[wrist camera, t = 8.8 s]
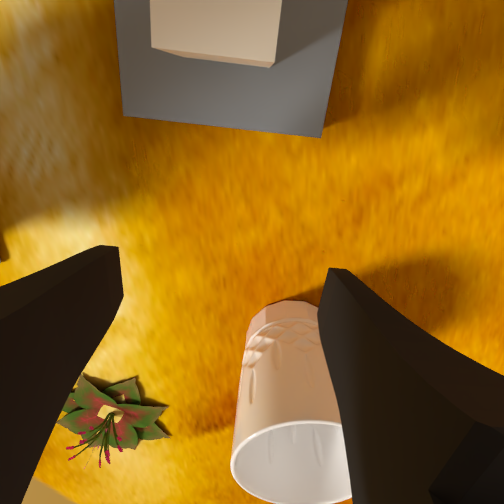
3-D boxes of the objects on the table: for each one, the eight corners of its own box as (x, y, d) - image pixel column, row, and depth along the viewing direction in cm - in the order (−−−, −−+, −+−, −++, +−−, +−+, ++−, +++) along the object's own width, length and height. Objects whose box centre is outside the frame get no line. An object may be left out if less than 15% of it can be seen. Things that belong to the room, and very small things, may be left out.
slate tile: (136, 112, 18) (123, 115, 16) (119, -155, 13) (98, -192, 11) (314, 132, 18) (320, 138, 16) (362, -121, 13) (378, -151, 12)
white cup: (289, 273, 23) (309, 397, 14) (361, 330, 25) (417, 467, 16) (219, 335, 25) (199, 471, 17) (290, 381, 28) (305, 521, 19)
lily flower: (191, 438, 33) (182, 488, 29) (85, 451, 34) (62, 501, 30) (147, 356, 27) (128, 404, 23) (23, 376, 29) (-15, 424, 25)
